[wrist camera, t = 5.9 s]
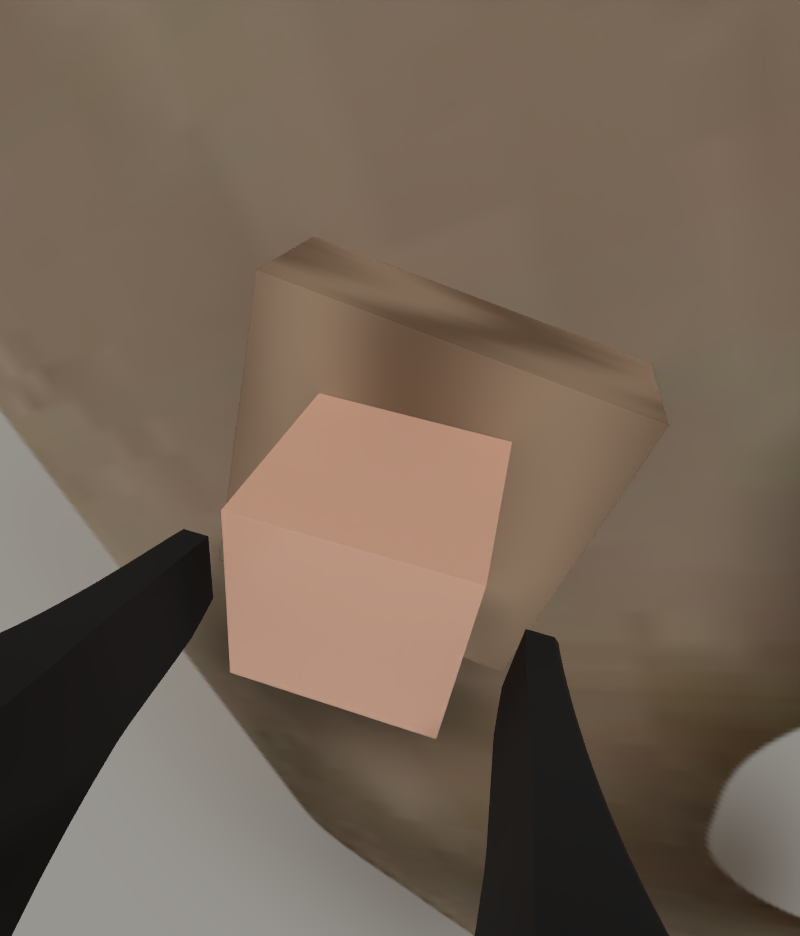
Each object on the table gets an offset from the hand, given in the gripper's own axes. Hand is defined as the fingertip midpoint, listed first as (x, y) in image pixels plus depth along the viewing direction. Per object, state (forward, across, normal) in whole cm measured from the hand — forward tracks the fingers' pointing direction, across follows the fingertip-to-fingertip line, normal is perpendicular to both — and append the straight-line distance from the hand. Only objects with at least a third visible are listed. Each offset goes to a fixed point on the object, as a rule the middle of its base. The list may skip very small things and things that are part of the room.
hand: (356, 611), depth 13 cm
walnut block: (+8, 0, 0) cm, 8 cm away
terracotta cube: (+4, 0, 0) cm, 4 cm away
